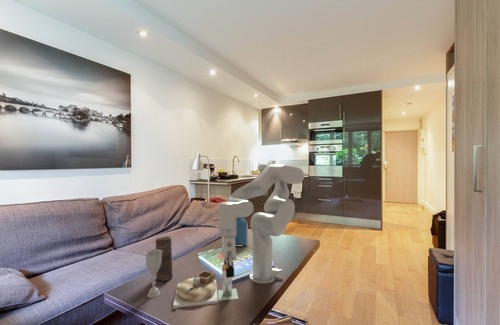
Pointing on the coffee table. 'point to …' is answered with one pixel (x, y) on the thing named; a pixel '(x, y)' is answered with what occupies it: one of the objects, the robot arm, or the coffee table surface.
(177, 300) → the dial base
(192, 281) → the dial
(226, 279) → the small glass bottle
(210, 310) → the coffee table surface
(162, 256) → the candle
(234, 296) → the pad
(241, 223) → the wine bottle
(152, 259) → the chalice
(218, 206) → the robot arm
